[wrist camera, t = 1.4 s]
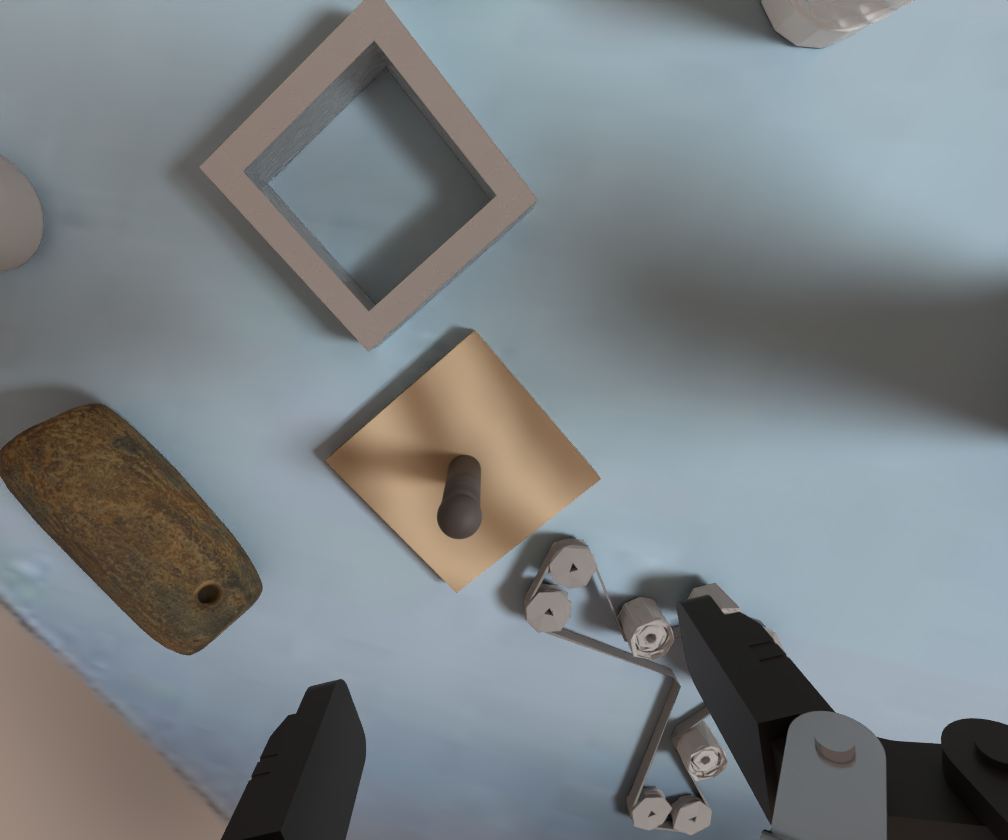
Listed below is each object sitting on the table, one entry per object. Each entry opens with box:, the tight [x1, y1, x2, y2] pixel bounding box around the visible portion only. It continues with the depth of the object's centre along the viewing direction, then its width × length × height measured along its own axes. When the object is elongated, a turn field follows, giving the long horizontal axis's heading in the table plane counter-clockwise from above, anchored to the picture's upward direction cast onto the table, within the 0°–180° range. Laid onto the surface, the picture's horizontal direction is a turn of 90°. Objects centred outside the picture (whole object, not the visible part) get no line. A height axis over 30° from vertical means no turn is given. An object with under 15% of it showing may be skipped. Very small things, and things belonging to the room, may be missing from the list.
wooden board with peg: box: [325, 330, 600, 593], centre depth 29 cm, size 12×12×9 cm
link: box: [199, 0, 538, 351], centre depth 28 cm, size 12×12×3 cm
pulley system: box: [524, 538, 789, 835], centre depth 36 cm, size 27×5×15 cm
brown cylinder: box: [0, 404, 262, 655], centre depth 30 cm, size 15×7×7 cm, turn 39°
